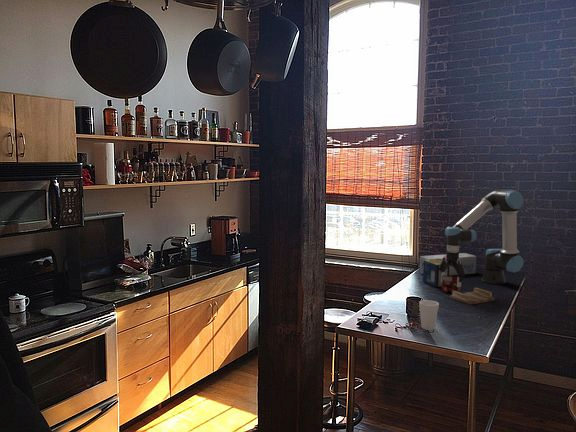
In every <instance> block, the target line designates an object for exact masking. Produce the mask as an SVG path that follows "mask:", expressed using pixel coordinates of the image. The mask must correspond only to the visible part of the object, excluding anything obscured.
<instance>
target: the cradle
mask: <svg viewBox="0 0 576 432" xmlns="http://www.w3.org/2000/svg"><path fill="white" fill-rule="evenodd" d="M492 294H493V293H492V291H489V290H485V289H482V288H478V287H474V288H473V290H472V291H468V292H461V291H460V292H457V291H453V294H452V293H451V294H450V295H449V299H453V300H456V301H458V302H461V303H464V304H467V305H476V304H482V303H488V302H493V301H495V297H493V295H492Z"/></svg>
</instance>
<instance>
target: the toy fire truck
mask: <svg viewBox="0 0 576 432" xmlns="http://www.w3.org/2000/svg"><path fill="white" fill-rule="evenodd" d="M457 278H458V276H452V275H449V276H445V275H443V276H442V287H441V290H442V292H443V293H448V292H450V293H451V295H452V294H453V291H457V292H460V293H461V292H462V287H463V286H462V285H461V287H457Z"/></svg>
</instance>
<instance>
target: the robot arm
mask: <svg viewBox="0 0 576 432" xmlns="http://www.w3.org/2000/svg"><path fill="white" fill-rule="evenodd" d="M522 205H524V197H523V195H522V194H521V193H520V192H519V191H517V190H513V189H500V188H499V189H495V190H493V191H490V192H489V193H488V194H486V195H485V196H484V197H482V199H481V200H480V202H479V203H478V204H477V205H476V206H474V207H473V208H472V209H470V210H469V212H468V213H466V214H465V215H464V216H463V217H462V218H461V219H460V220H458V221H457V222H456V223H455V224H454V225H452V226H447V227H446V228H445V231H444V235H445V237H447V238H446V252H445V254H446V257H443V261H442V263H441V265H440V267H439V270H440V271H441V282H442V276H443V275H445V273H446V272H444V271H445V270H446V269H447V268H448V267H449V266H452V267H454V268H455V270H456V272H457V274H458V275H457V287H461V286H462V282H463V278H464V277H466V274H465V273H464V269H463V266H462V261H458V258H459V253H460V243H471V242H475V241H476V240H477V238H478V237H477V231H475V230H474V229H470V227H471V226H473V225H474V224H475V223H476V222H477V221H478V220H479V219H481V218H482V217H483V216H484V215H485V214H486V213H488V212H489V211H492V210H493V209H495V208H499V212H500V213H501V216H502V217H501V218H502V219H501V220H502V223H501V225H502V226H501V227H502V228H501V229H502V232H501V233H502V248H488V249H486V251H485V262H484V263H485V265H484V267H485V268H484V271H483V273H482V276H481V281H482V282H484V283H487V284H493V285H503V284H506V278H505V273H504V271H506V272H508V273H517V272H519V271H520V270H521V269H522V268H523V266H524V263H525V262H524V258H523V257H522V256H521V255H520V250H519V249H518V247H517V245H518V244H517V243H518V241H517V240H518V239H517V238H518V236H517V235H518V233H517V231H518V228H517V226H518V225H517V214H518V212H519V211H520V208H522ZM446 261H447V263H446ZM461 288H462V287H461Z"/></svg>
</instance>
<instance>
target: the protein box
mask: <svg viewBox="0 0 576 432" xmlns="http://www.w3.org/2000/svg"><path fill="white" fill-rule="evenodd" d="M441 263H442V261H440V260H437V259H432V260H424V266H423V275H422V283H425V284H427V285H429V286H432V287H435V288H442V282H441V271H440V270H439V267H440V265H441ZM449 268H450V266H449V267H448V268H447V269H446V270H445V271H444V272H446V273H445V276H450V275H449Z"/></svg>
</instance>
